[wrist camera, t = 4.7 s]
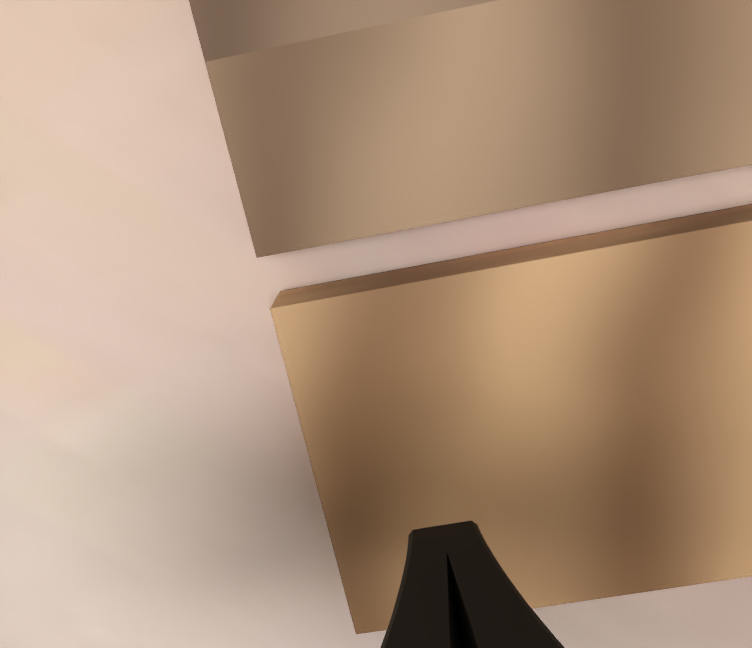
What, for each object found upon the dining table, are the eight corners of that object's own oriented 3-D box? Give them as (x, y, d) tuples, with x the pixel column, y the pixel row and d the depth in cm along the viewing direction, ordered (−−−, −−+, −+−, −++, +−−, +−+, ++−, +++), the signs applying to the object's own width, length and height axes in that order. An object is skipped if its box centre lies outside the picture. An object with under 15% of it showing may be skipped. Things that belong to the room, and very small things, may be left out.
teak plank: (1021, 154, 13) (1102, 156, 11) (953, 502, 16) (1010, 537, 14) (281, 291, 14) (270, 308, 12) (357, 592, 17) (356, 634, 15)
